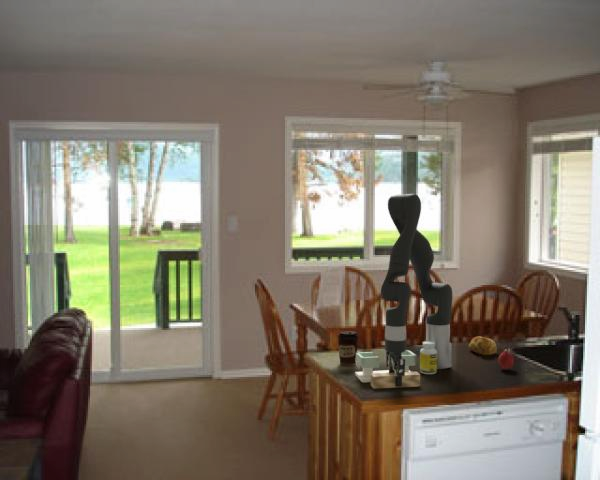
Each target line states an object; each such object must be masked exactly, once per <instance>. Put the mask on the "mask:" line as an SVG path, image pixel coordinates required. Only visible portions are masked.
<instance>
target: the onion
mask: <svg viewBox="0 0 600 480" xmlns="http://www.w3.org/2000/svg"><path fill="white" fill-rule="evenodd" d="M497 361H498V364H499V365H500V367H501V368H502V369H503V370H504V371H507V370H509V369H510V368H512V367H513V365H514V363H515V358H514V355H512V354H511V352H509V351H508V350H507V349H504V351H503V352H501V354H500V355H499V356H498V359H497Z"/></svg>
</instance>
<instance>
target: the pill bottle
mask: <svg viewBox="0 0 600 480" xmlns="http://www.w3.org/2000/svg"><path fill="white" fill-rule="evenodd" d="M434 347H435V343H434V342H430V341H426V340H425V341H422V348H420V350H419V372H420V373H421V374H424V375H435V374H436V373H437V372H438V369H437V350H436V349H434Z"/></svg>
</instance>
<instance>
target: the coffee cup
mask: <svg viewBox="0 0 600 480" xmlns="http://www.w3.org/2000/svg"><path fill="white" fill-rule="evenodd" d="M337 340H338V341H337V342H338V353H339V354H338V355H339V364H340V365H342V366H355V365H356V364H357V361H356V353H358V341H359V335H358V332H357V331H353V330H346V331H345V330H344V331H340V332H339V333H338V335H337Z"/></svg>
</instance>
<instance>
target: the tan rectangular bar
mask: <svg viewBox="0 0 600 480" xmlns="http://www.w3.org/2000/svg"><path fill="white" fill-rule="evenodd" d="M370 386H371V387H372V389H392V388H397V387H396V386H395V373H374V374H371V382H370ZM410 387H411V388H412V387H413V388H414V387H415V388H417V387H421V374H420V373H419V372H418V371H411V372H405V375H404V376H402V386H401V387H400V388H410Z"/></svg>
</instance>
